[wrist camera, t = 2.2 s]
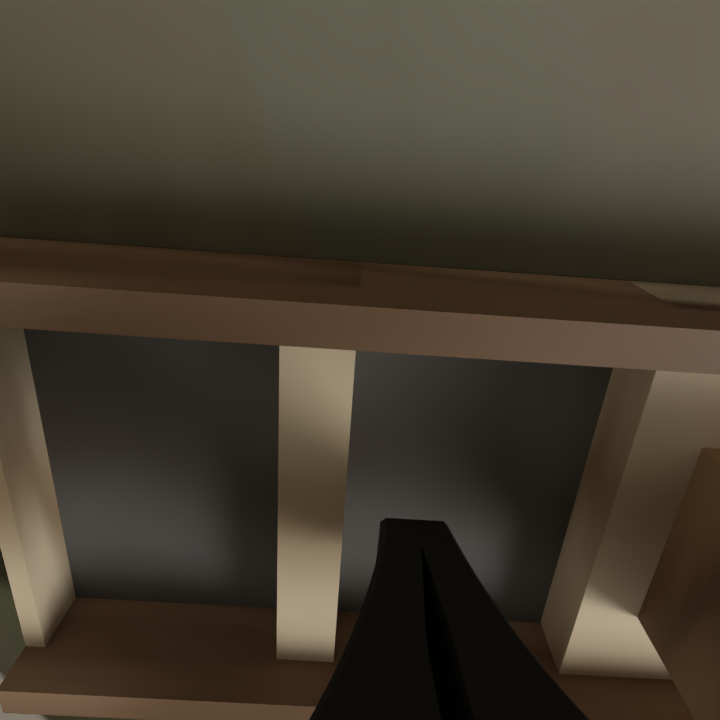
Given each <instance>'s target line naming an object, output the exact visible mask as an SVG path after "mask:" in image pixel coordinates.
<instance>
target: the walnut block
mask: <svg viewBox="0 0 720 720" xmlns="http://www.w3.org/2000/svg"><path fill="white" fill-rule="evenodd" d="M637 618H638V619H639V621H640V623H641V625H642V627H643V628H644V630H645V632H646V634H647V635H648V637H649V639H650V641H651V643H652V644H653V646H654V648H655V650H656V651H657V653H658V655H659V657H660V659H661V660H662V662H663V664H664V666H665V667H666V669H667V671H668V673H669V675H670V676H671V678H672V680H673V682H674V684H675V685H676V687H677V689H678V691H679V692H680V694H681V696H682V698H683V700H684V701H685V703H686V705H687V707H688V708H689V710H690V712H691V714H692V716H693V717H694V719H695V720H720V449H717V448H702V450H701V453H700V455H699V458H698V460H697V463H696V466H695V468H694V471H693V474H692V476H691V479H690V481H689V484H688V487H687V489H686V492H685V494H684V497H683V500H682V502H681V505H680V507H679V510H678V513H677V515H676V518H675V520H674V523H673V526H672V528H671V531H670V533H669V536H668V539H667V541H666V544H665V546H664V549H663V552H662V554H661V557H660V559H659V562H658V565H657V567H656V570H655V572H654V575H653V578H652V580H651V583H650V586H649V588H648V591H647V593H646V596H645V599H644V601H643V604H642V606H641V609H640V612H639V614H638V617H637Z"/></svg>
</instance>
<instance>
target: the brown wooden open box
mask: <svg viewBox="0 0 720 720" xmlns="http://www.w3.org/2000/svg"><path fill="white" fill-rule="evenodd" d="M702 448H717V449H720V287H712V286H698V285H683V284H669V283H655V282H640V281H626V280H612V279H598V278H583V277H569V276H555V275H540V274H526V273H512V272H497V271H483V270H469V269H454V268H440V267H426V266H411V265H397V264H383V263H368V262H354V261H340V260H325V259H311V258H297V257H282V256H268V255H254V254H239V253H225V252H211V251H196V250H182V249H168V248H154V247H139V246H125V245H111V244H96V243H82V242H68V241H53V240H39V239H25V238H10V237H0V548H1V552H2V556H3V559H4V563H5V567H6V571H7V575H8V579H9V583H10V586H11V590H12V594H13V598H14V602H15V606H16V610H17V614H18V617H19V621H20V625H21V629H22V633H23V637H24V641H25V644H26V647H25V648H24V650H23V651H22V653H21V654H20V656H19V658H18V659H17V661H16V662H15V664H14V665H13V667H12V668H11V670H10V671H9V673H8V674H7V676H6V678H5V679H4V681H3V682H2V684H1V685H0V703H1V706H2V710H3V712H4V713H20V714H41V715H61V716H81V717H102V718H122V719H142V720H309V719H310V717H311V715H312V714H313V712H314V710H315V708H316V706H317V704H318V702H319V700H320V699H321V697H322V695H323V693H324V691H325V689H326V687H327V685H328V683H329V681H330V680H331V678H332V675H333V673H334V671H335V669H336V667H337V665H338V663H339V661H340V659H341V657H342V654H343V652H344V650H345V648H346V645H347V643H348V641H349V639H350V636H351V634H352V631H353V629H354V626H355V624H356V621H357V618H358V616H359V613H360V611H361V608H362V605H363V603H364V600H365V597H366V594H367V591H368V588H369V584H370V581H371V578H372V574H373V571H374V567H375V563H376V557H377V547H378V538H379V528H380V522H381V521H382V520H384V519H385V518H398V519H416V520H433V521H444V522H445V523H446V524H447V525H448V527H449V529H450V530H451V532H452V534H453V536H454V538H455V540H456V541H457V543H458V545H459V547H460V549H461V550H462V552H463V554H464V555H465V557H466V559H467V560H468V562H469V564H470V565H471V567H472V569H473V570H474V572H475V574H476V575H477V577H478V578H479V580H480V581H481V583H482V585H483V586H484V588H485V589H486V591H487V592H488V593H489V595H490V596H491V598H492V599H493V601H494V602H495V604H496V605H497V607H498V608H499V610H500V611H501V613H502V614H503V615H504V617H505V618H506V620H507V621H508V623H509V624H510V625H511V627H512V628H513V629H514V631H515V632H516V633H517V635H518V636H519V637H520V639H521V640H522V641H523V643H524V644H525V645H526V647H527V648H528V649H529V650H530V652H531V653H532V654H533V655H534V657H535V658H536V659H537V660H538V662H539V663H540V664H541V665H542V667H543V668H544V669H545V670H546V671H547V673H548V674H549V675H550V676H551V677H552V678H553V680H554V681H555V682H556V683H557V684H558V685H559V687H560V688H561V689H562V690H563V691H564V692H565V693H566V695H567V696H568V697H569V698H570V699H571V700H572V701H573V702H574V703H575V704H576V706H577V707H578V708H579V709H580V710H581V711H582V712H583V713H584V714H585V715H586V716H587V718H588V719H589V720H695V719H694V717H693V716H692V714H691V712H690V710H689V708H688V707H687V705H686V703H685V701H684V700H683V698H682V696H681V694H680V692H679V691H678V689H677V687H676V685H675V684H674V682H673V680H672V678H671V676H670V675H669V673H668V671H667V669H666V667H665V666H664V664H663V662H662V660H661V659H660V657H659V655H658V653H657V651H656V650H655V648H654V646H653V644H652V643H651V641H650V639H649V637H648V635H647V634H646V632H645V630H644V628H643V627H642V625H641V623H640V621H639V619H638V618H637V617H638V614H639V612H640V609H641V606H642V604H643V601H644V599H645V596H646V593H647V591H648V588H649V586H650V583H651V580H652V578H653V575H654V572H655V570H656V567H657V565H658V562H659V559H660V557H661V554H662V552H663V549H664V546H665V544H666V541H667V539H668V536H669V533H670V531H671V528H672V526H673V523H674V520H675V518H676V515H677V513H678V510H679V507H680V505H681V502H682V500H683V497H684V494H685V492H686V489H687V487H688V484H689V481H690V479H691V476H692V474H693V471H694V468H695V466H696V463H697V460H698V458H699V455H700V453H701V450H702Z"/></svg>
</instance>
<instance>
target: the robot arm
mask: <svg viewBox="0 0 720 720" xmlns="http://www.w3.org/2000/svg"><path fill="white" fill-rule="evenodd" d="M309 720H589V719H588V718H587V716H586V715H585V714H584V713H583V712H582V711H581V710H580V709H579V708H578V707H577V706H576V704H575V703H574V702H573V701H572V700H571V699H570V698H569V697H568V696H567V695H566V693H565V692H564V691H563V690H562V689H561V688H560V687H559V685H558V684H557V683H556V682H555V681H554V680H553V678H552V677H551V676H550V675H549V674H548V673H547V671H546V670H545V669H544V668H543V667H542V665H541V664H540V663H539V662H538V660H537V659H536V658H535V657H534V655H533V654H532V653H531V652H530V650H529V649H528V648H527V647H526V645H525V644H524V643H523V641H522V640H521V639H520V637H519V636H518V635H517V633H516V632H515V631H514V629H513V628H512V627H511V625H510V624H509V623H508V621H507V620H506V618H505V617H504V615H503V614H502V613H501V611H500V610H499V608H498V607H497V605H496V604H495V602H494V601H493V599H492V598H491V596H490V595H489V593H488V592H487V591H486V589H485V588H484V586H483V585H482V583H481V581H480V580H479V578H478V577H477V575H476V574H475V572H474V570H473V569H472V567H471V565H470V564H469V562H468V560H467V559H466V557H465V555H464V554H463V552H462V550H461V549H460V547H459V545H458V543H457V541H456V540H455V538H454V536H453V534H452V532H451V530H450V529H449V527H448V525H447V524H446V523H445V522H444V521H433V520H416V519H398V518H385V519H384V520H382V521H381V522H380V528H379V538H378V547H377V557H376V563H375V567H374V571H373V574H372V578H371V581H370V584H369V588H368V591H367V594H366V597H365V600H364V603H363V605H362V608H361V611H360V613H359V616H358V618H357V621H356V624H355V626H354V629H353V631H352V634H351V636H350V639H349V641H348V643H347V645H346V648H345V650H344V652H343V654H342V657H341V659H340V661H339V663H338V665H337V667H336V669H335V671H334V673H333V675H332V678H331V680H330V681H329V683H328V685H327V687H326V689H325V691H324V693H323V695H322V697H321V699H320V700H319V702H318V704H317V706H316V708H315V710H314V712H313V714H312V715H311V717H310V719H309Z"/></svg>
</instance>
